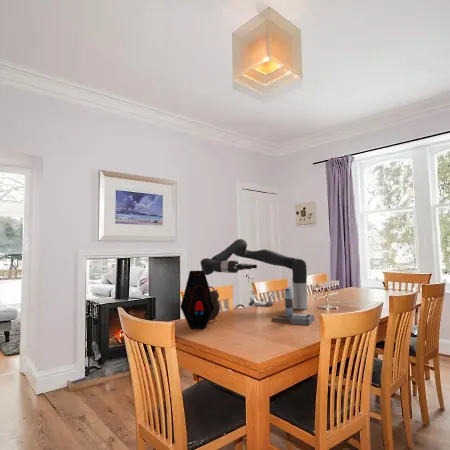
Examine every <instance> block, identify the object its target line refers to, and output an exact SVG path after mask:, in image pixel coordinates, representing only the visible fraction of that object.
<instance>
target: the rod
mask: <svg viewBox="0 0 450 450" xmlns="http://www.w3.org/2000/svg"><path fill="white" fill-rule="evenodd" d="M284 305H285V315H286V318H292V314H294V312H293V311H294V307H293V287H290V286H289V287H285V288H284Z"/></svg>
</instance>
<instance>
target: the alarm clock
mask: <svg viewBox="0 0 450 450" xmlns="http://www.w3.org/2000/svg"><path fill="white" fill-rule="evenodd" d="M209 288H210V289H212V290H210V291H211V295H212V298H213V301H214V304H215V309H214V311H213V313H212V315H211V317H210V320H209V322H210V321H213V323H215V322H217V316H219V313H220V310H221V304H220V301H219V297H220V295H219V292H218V290H217V289H215V288H214V286H210V285H209Z"/></svg>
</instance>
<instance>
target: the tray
mask: <svg viewBox="0 0 450 450" xmlns="http://www.w3.org/2000/svg"><path fill="white" fill-rule="evenodd" d="M314 321H315V314H308V318H307V319H303V318H290V323H289V324H292V325H303V326H304V325H305V326H309V325H310V324H312V323H313V322H314Z"/></svg>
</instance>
